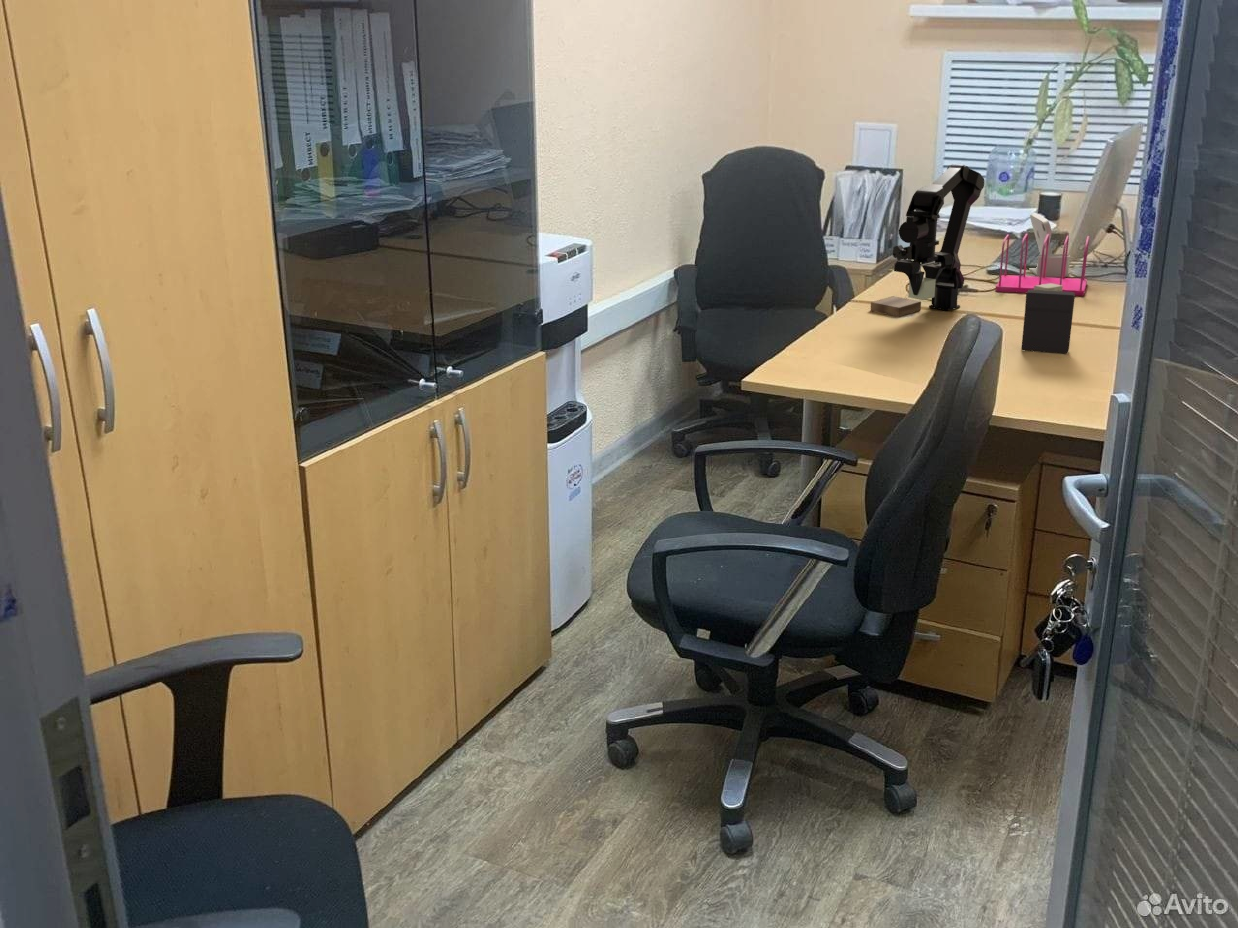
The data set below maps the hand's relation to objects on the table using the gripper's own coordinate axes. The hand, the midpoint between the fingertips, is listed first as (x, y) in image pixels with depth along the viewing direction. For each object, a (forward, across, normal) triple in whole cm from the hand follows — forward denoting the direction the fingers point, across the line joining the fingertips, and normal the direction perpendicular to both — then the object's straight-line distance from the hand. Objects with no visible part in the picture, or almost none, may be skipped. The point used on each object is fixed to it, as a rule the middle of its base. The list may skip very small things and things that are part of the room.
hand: (921, 293), depth 318 cm
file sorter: (+8, -55, +3) cm, 56 cm away
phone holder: (+7, -77, -9) cm, 78 cm away
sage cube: (+1, 0, 0) cm, 1 cm away
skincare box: (+7, -12, +31) cm, 34 cm away
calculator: (+7, +5, +42) cm, 43 cm away
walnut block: (+8, -3, -11) cm, 14 cm away
